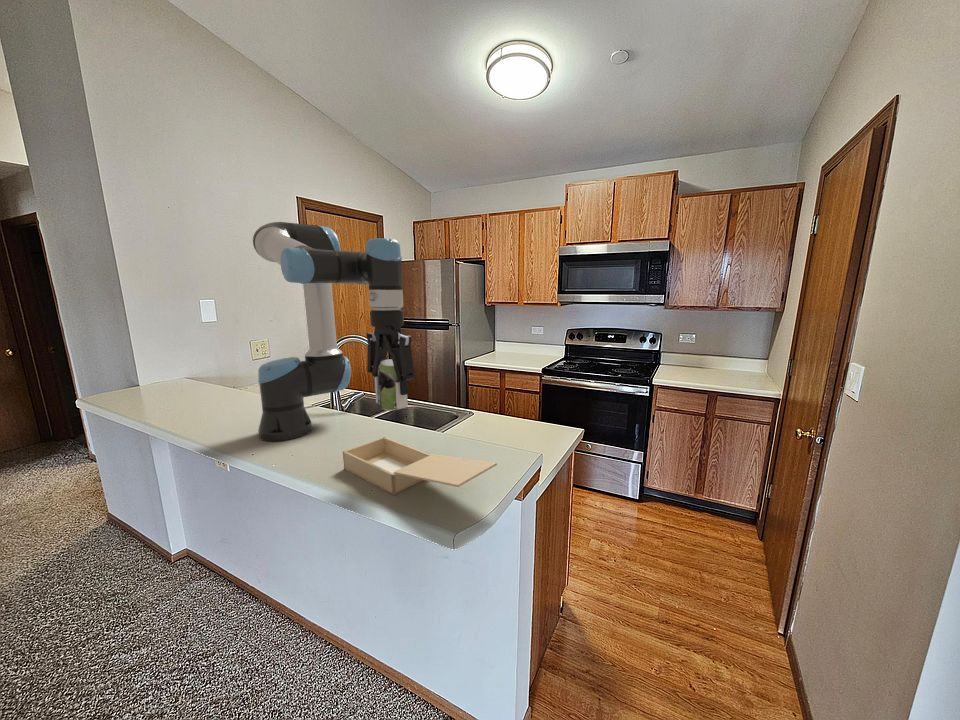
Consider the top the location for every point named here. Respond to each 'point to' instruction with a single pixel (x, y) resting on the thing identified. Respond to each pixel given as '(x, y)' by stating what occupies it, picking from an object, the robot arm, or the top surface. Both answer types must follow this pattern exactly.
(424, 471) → the lid
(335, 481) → the top surface
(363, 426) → the top surface
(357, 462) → the box
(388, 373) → the beverage can
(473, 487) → the top surface
